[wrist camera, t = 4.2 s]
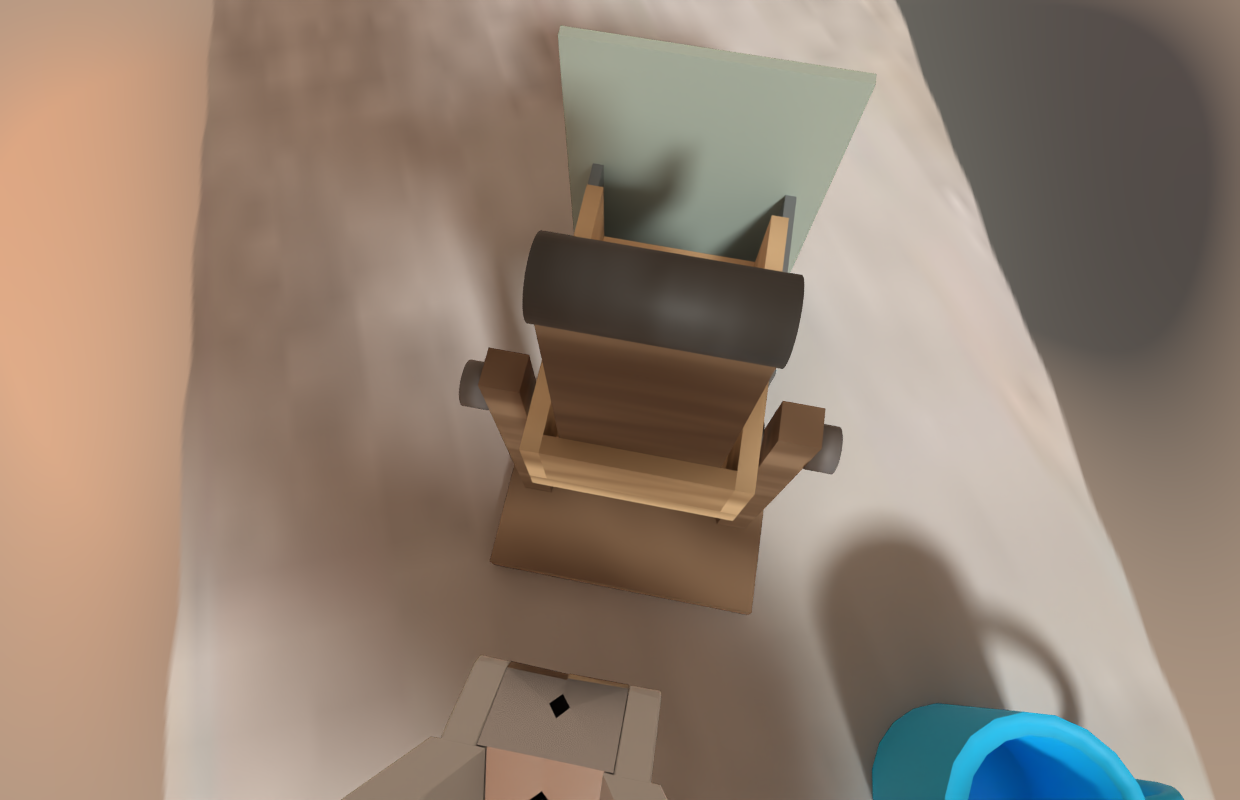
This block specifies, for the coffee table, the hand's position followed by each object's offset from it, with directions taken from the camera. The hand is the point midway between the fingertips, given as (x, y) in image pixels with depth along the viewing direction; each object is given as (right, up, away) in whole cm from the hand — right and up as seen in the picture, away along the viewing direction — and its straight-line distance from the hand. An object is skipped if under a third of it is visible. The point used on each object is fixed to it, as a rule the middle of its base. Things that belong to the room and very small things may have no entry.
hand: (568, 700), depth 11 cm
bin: (+4, +9, +32) cm, 34 cm away
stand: (+2, -1, +28) cm, 28 cm away
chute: (+2, +5, +16) cm, 17 cm away
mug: (+19, -15, +23) cm, 34 cm away
